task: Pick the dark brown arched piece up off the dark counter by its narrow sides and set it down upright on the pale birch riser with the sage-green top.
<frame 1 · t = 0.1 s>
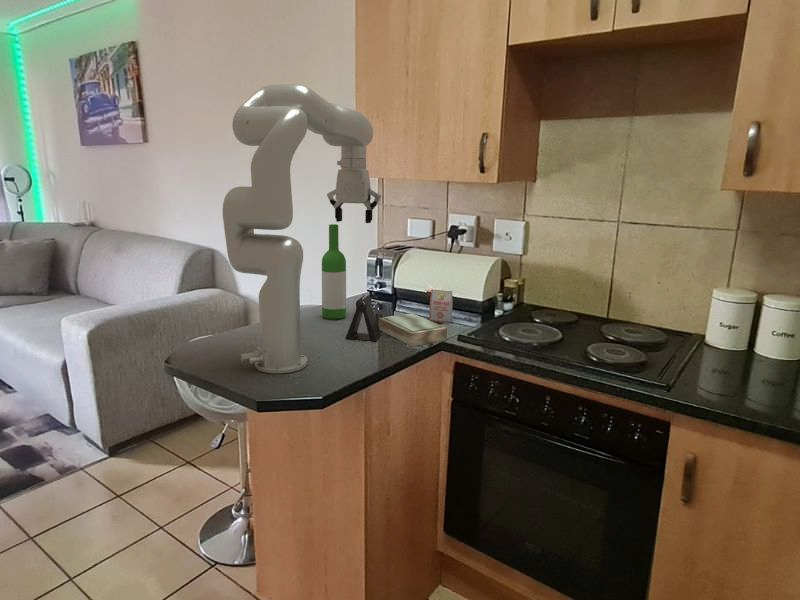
hand: (353, 222, 164), 31 cm above the table, tool pointing down, fingers open, 9 cm apart
dark brown arched piece: (363, 338, 153), on the table
wine bottle: (334, 317, 173), on the table
small printed carton: (440, 320, 173), on the table
riser: (411, 334, 156), on the table
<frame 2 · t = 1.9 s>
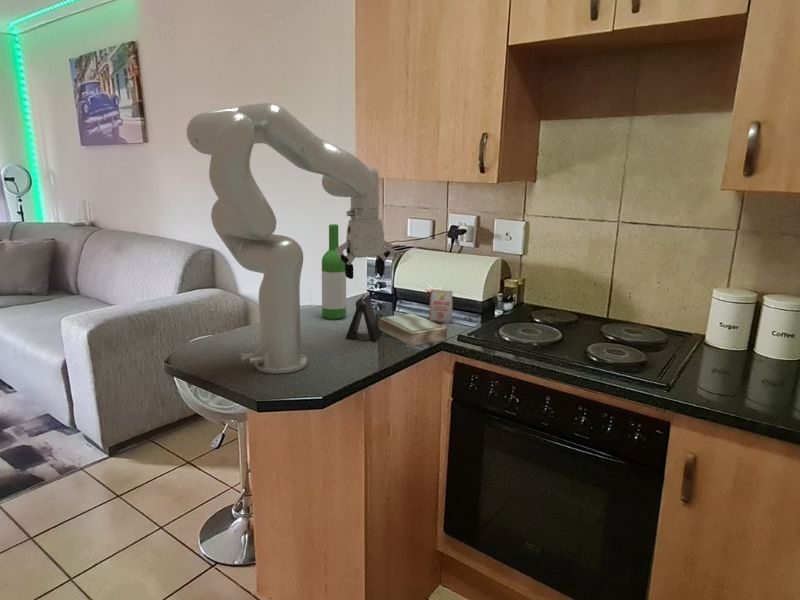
hand: (365, 276, 149), 18 cm above the table, tool pointing down, fingers open, 9 cm apart
nothing on the table moved.
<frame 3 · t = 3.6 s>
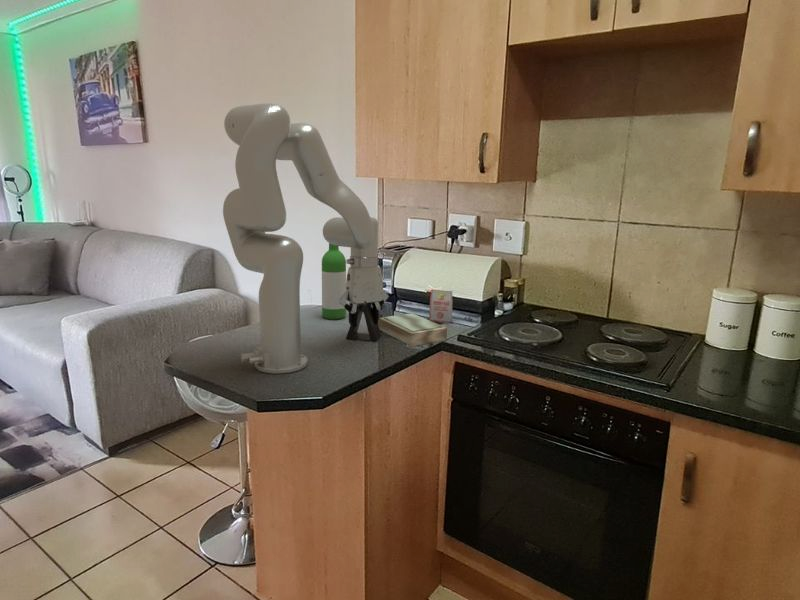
hand: (363, 323, 152), 4 cm above the table, tool pointing down, fingers closed on dark brown arched piece, 6 cm apart
dark brown arched piece: (363, 338, 153), on the table, touching gripper
everything else where it was.
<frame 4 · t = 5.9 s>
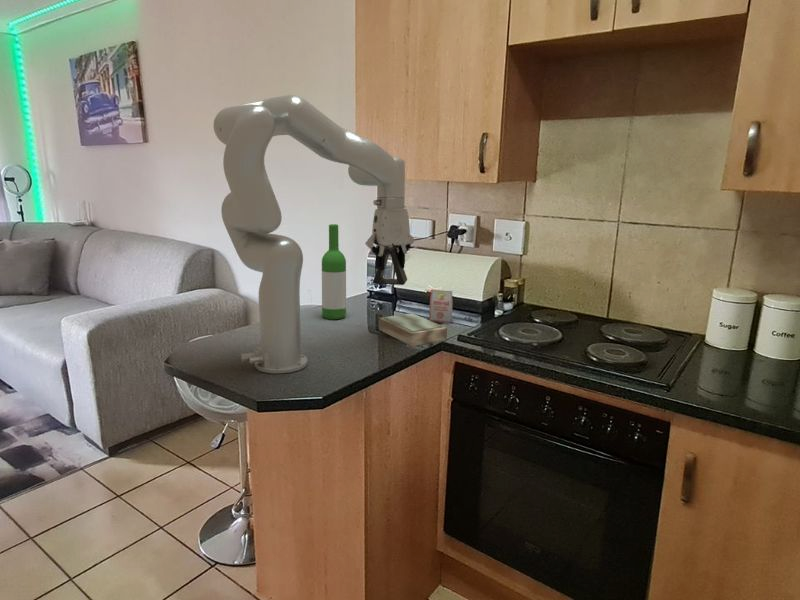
hand: (390, 267, 150), 20 cm above the table, tool pointing down, fingers closed on dark brown arched piece, 6 cm apart
dark brown arched piece: (390, 282, 151), point 16 cm above the table, touching gripper
everything else where it was.
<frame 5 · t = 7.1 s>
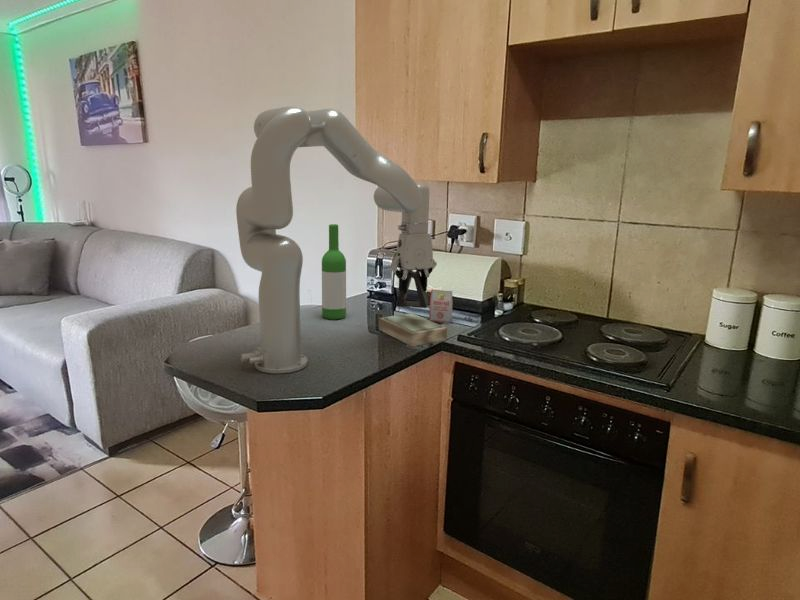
hand: (412, 290, 153), 13 cm above the table, tool pointing down, fingers closed on dark brown arched piece, 6 cm apart
dark brown arched piece: (412, 305, 154), point 9 cm above the table, touching gripper
everything else where it was.
when the fingers open (9 cm above the table, at t = 8.1 s): dark brown arched piece drops 1 cm, resting on riser.
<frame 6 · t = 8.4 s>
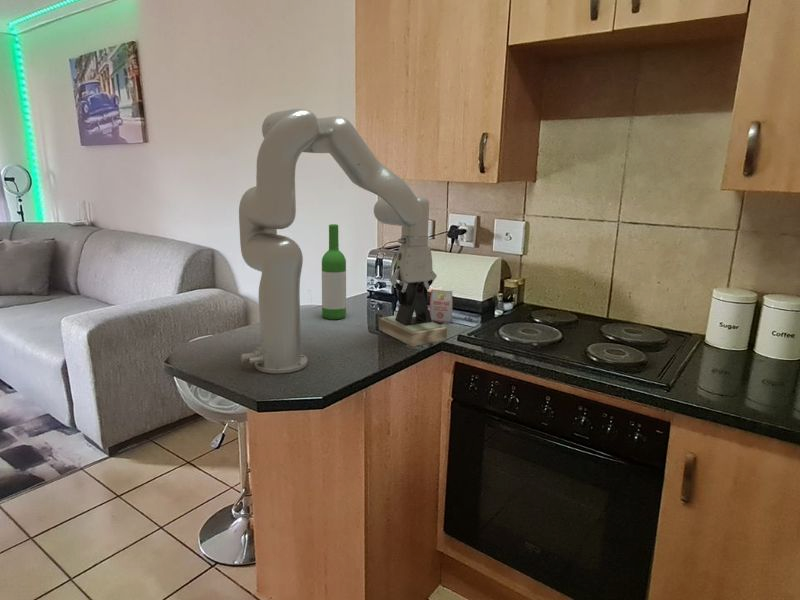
hand: (412, 303, 154), 10 cm above the table, tool pointing down, fingers open, 6 cm apart
dark brown arched piece: (413, 322, 156), point 4 cm above the table, touching riser
everything else where it was.
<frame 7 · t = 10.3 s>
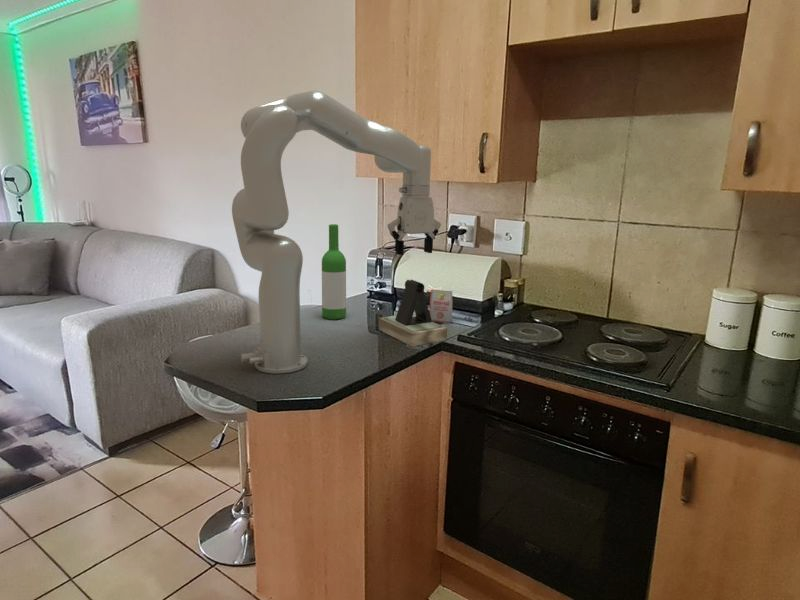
hand: (414, 253, 151), 24 cm above the table, tool pointing down, fingers open, 9 cm apart
nothing on the table moved.
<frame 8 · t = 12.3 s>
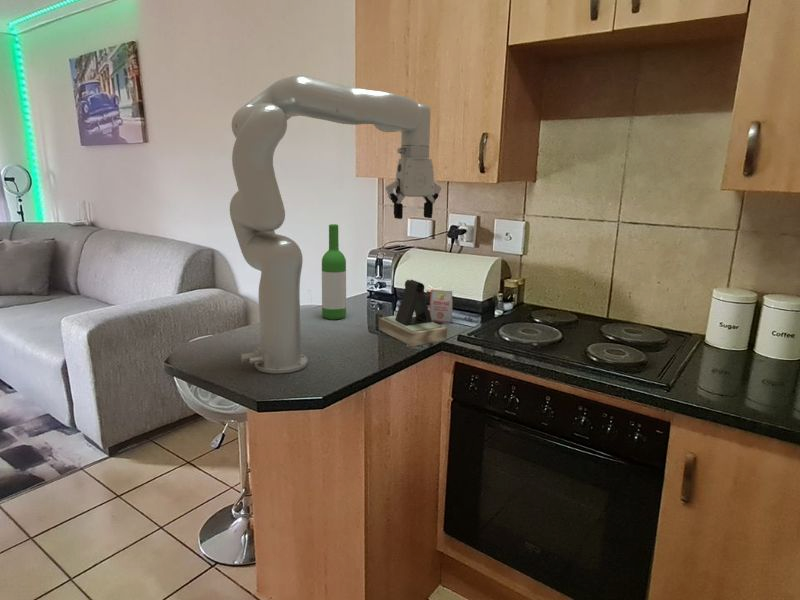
hand: (413, 218, 146), 34 cm above the table, tool pointing down, fingers open, 9 cm apart
nothing on the table moved.
at the end: dark brown arched piece inside the target area on the riser (0.4 cm from its centre), point 3.8 cm above the riser's base; dark brown arched piece tilted 0°; the gripper is holding nothing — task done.
